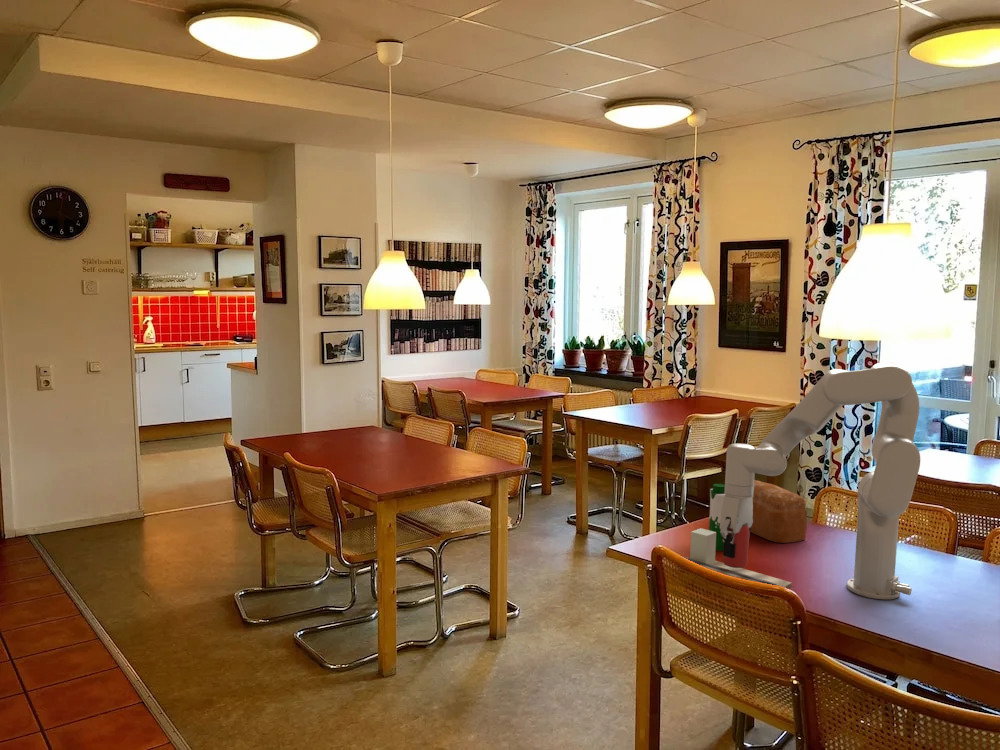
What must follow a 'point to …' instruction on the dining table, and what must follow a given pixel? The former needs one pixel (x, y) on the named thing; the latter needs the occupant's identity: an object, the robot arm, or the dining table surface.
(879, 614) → the dining table surface
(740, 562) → the beer can
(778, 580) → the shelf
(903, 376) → the robot arm
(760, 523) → the bread
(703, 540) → the carton
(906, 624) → the dining table surface
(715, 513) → the milk carton
